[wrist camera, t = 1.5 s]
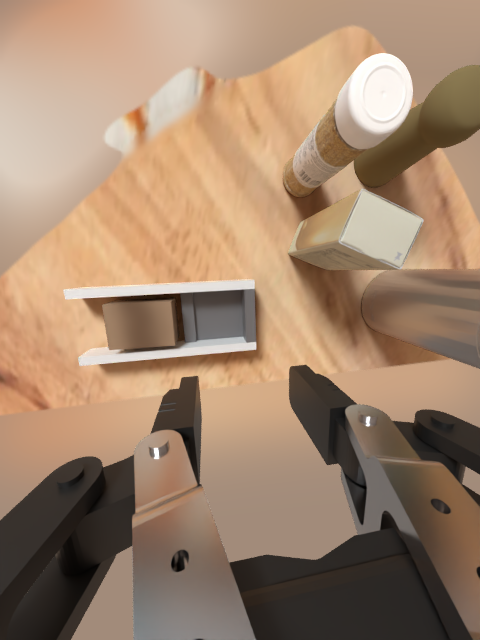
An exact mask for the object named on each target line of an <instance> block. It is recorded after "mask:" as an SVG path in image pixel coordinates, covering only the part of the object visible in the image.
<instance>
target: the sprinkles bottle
mask: <svg viewBox="0 0 480 640" xmlns="http://www.w3.org/2000/svg"><path fill="white" fill-rule="evenodd" d="M412 97H413V88H412V80H411V77H410V74H409V72H408V70H407V68H406V66H405V65H404V64H403V63H402V61H400V59H398V58H397V57H395V56H393V55H391V54H384V53H381V54H376V55H373V56H371V57H369V58H367V59H366V60H364V61H363V62H362V63H361V64H360V65H359V66H358V68H357V69H356V70H355V71H354V73H353V74H352V75H351V76H350V78H349V79H348V80H347V82H346V83H345V84H344V86H343V87H342V89H341V91H340V93H339V95H338V97H337V99H336V101H335V102H334V104H333V105H332V106H331V108H330V109H329V110H328V112H327V113H326V114H325V115H324V116H323V117H322V118H321V120H320V121H319V122H318V124H317V125H316V126H315V128H314V129H313V130H312V132H311V133H310V134H309V136H308V137H307V138H306V139H305V141H304V142H303V143H302V145H301V146H300V147H299V149H298V150H297V152H296V154H295V155H294V156H293V157H292V158H291V159H290V160H289V161H288V163H287V164H286V166H285V168H284V171H283V182H284V185H285V187H286V189H287V190H288V192H289V193H291V194H292V195H294V196H297V197H304V196H307V195H309V194H311V193H312V192H313V191H314V190H315V189H316V188H317V187H319V186H320V185H322V184H323V183H324V182H326V181H327V180H328V179H330V178H331V177H332V176H334V175H335V174H337V173H338V172H339V171H341V170H342V169H343V168H345V167H346V166H347V165H348V164H349V163H351V162H352V161H353V160H354V159H356V158H357V157H358V156H360V155H361V154H362V153H363V152H365V151H366V150H367V149H369V148H372V147H375V146H376V145H378V144H379V143H381V142H382V141H383V140H385V139H386V138H387V137H389V136H390V135H391V134H392V133H394V132H395V131H396V130H397V129H398V128H399V127H400V126H401V125H402V123H403V122H404V120H405V119H406V117H407V115H408V113H409V110H410V108H411V104H412Z"/></svg>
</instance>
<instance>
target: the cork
mask: <svg viewBox="0 0 480 640" xmlns="http://www.w3.org/2000/svg"><path fill="white" fill-rule="evenodd" d="M479 129H480V65H470V66H466V67H463V68H460V69H458V70H456V71H454V72H452V73H450V75H448V76H447V77H446V78H444V79H443V80H442V81H441V82H440V83H439V84H437V85H436V86H435V87H434V88H433V90H432V91H431V92H430V93H429V95H428V96H427V98H426V99H425V101H424V102H423V103H421V104H419V105H418V106H416V107H414V108H413V109H411V110H409V113H408V115H407V117H406V119H405V120H404V122H403V123H402V125H401V126H400V127H399V128H398V129H397V130H396V131H395V132H394V133H392V134H391V135H390V136H389V137H387V138H386V139H385V140H383V141H382V142H381V143H379V144H378V145H376V146H375V147H372V148H369V149H367V150H366V151H365V152H363V153H362V154H361V155H360V156H358V157H357V158H356V159H354V168H355V173H356V175H357V177H358V179H359V180H360V181H361V182H362V183H363V184H364V185H367V186H369V187H379V186H382V185H384V184H386V183H387V182H389V181H390V180H391V179H393V178H394V177H396V176H397V175H399V174H400V173H402V172H403V171H405V170H406V169H408V168H409V167H410V166H412V165H413V164H415V163H416V162H418V161H419V160H421V159H422V158H424V157H425V156H427V155H428V154H429V153H431V152H432V151H434V150H435V149H437V148H446V147H450V146H453V145H456V144H458V143H460V142H462V141H464V140H466V139H468V138H469V137H470V136H471V135H473V134H474V133H475V132H477V130H479Z"/></svg>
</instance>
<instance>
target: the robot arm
mask: <svg viewBox="0 0 480 640" xmlns="http://www.w3.org/2000/svg"><path fill="white" fill-rule="evenodd" d="M362 314H363V318H364V320H365V322H366V323H367V325H368V326H369V327H370V328H372V329H373V330H375V331H377V332H380V333H383V334H385V335H388V336H391V337H393V338H396V339H399V340H401V341H404V342H407V343H410V344H412V345H415V346H418V347H421V348H424V349H426V350H429V351H432V352H435V353H437V354H440V355H443V356H446V357H448V358H451V359H454V360H457V361H459V362H462V363H465V364H468V365H471V366H473V367H476V368H479V369H480V269H400V270H389V271H385V272H383V273H381V274H379V275H378V276H377V277H376V278H374V279H373V280H372V282H371V283H370V284H369V285H368V287H367V289H366V290H365V293H364V296H363V299H362ZM289 399H290V404H291V407H292V409H293V411H294V412H295V414H296V416H297V417H298V419H299V420H300V422H301V424H302V425H303V427H304V429H305V430H306V432H307V433H308V435H309V437H310V438H311V439H312V441H313V443H314V445H315V446H316V448H317V449H318V451H319V453H320V454H321V456H322V458H323V459H324V461H325V462H326V464H327V465H331V464H337V463H339V465H340V466H341V480H342V484H343V487H344V490H345V494H346V497H347V500H348V503H349V507H350V510H351V514H352V517H353V520H354V524H355V527H356V530H357V534H358V535H356V536H353V537H352V538H350V539H349V540H347V541H346V542H344V543H343V544H341V545H340V546H338V547H337V548H335V549H334V550H332V551H331V552H329V553H328V554H326V555H325V556H323V557H322V558H320V559H318V560H309V559H300V558H291V557H282V556H273V555H263V556H258V557H254V558H249V559H245V560H240V561H235V562H230V563H229V561H228V558H227V555H226V552H225V549H224V546H223V544H222V541H221V538H220V535H219V532H218V529H217V526H216V523H215V520H214V518H213V515H212V512H211V509H210V506H209V503H208V500H207V497H206V494H205V492H204V489H203V487H202V485H201V484H200V453H201V450H200V449H201V421H202V419H201V402H200V390H199V380H198V376H193V377H183V378H182V379H181V383H180V388H179V389H172V390H169V391H168V392H167V393H166V394H165V395H164V396H163V399H162V402H161V406H160V408H159V412H158V414H157V417H156V419H155V422H154V426H153V428H152V431H151V434H150V435H148V436H147V437H145V438H144V439H142V441H140V442H139V444H138V445H137V446H136V448H135V451H134V455H133V456H131V457H129V458H127V459H124V460H122V461H119V462H117V463H114V464H112V465H109V466H106V467H104V468H103V466H102V462H101V460H100V459H98V458H96V457H82V458H78V459H75V460H72V461H70V462H68V463H66V464H64V465H62V466H61V467H59V468H58V469H56V470H55V471H53V472H52V473H51V474H50V475H49V476H47V477H46V478H45V479H44V480H43V481H42V482H41V483H40V484H39V485H38V486H37V487H36V488H35V489H34V490H32V491H31V492H30V493H29V494H28V495H27V496H26V497H25V498H24V499H23V500H22V501H21V502H20V503H18V504H17V505H16V506H15V507H14V508H13V509H12V510H11V511H10V512H9V513H8V514H7V515H6V516H5V517H3V519H1V520H0V640H71V638H72V636H73V635H74V633H75V631H76V629H77V627H78V625H79V624H80V622H81V620H82V618H83V616H84V614H85V612H86V611H87V609H88V607H89V605H90V603H91V601H92V599H93V598H94V596H95V594H96V592H97V590H98V588H99V586H100V585H101V583H102V581H103V579H104V577H105V575H106V574H107V572H108V570H109V568H110V566H111V564H112V562H113V561H114V559H115V556H116V554H118V553H119V552H121V551H123V550H125V549H127V548H129V547H130V546H132V547H133V548H132V551H133V627H134V628H133V631H134V640H480V495H478V494H477V493H475V492H474V491H472V490H471V489H469V488H468V487H466V486H464V485H463V484H462V480H463V476H464V471H465V467H468V468H470V469H471V470H473V471H475V472H477V473H478V474H480V428H478V427H476V426H474V425H472V424H470V423H467V422H465V421H463V420H461V419H459V418H456V417H454V416H452V415H449V414H447V413H444V412H440V411H435V410H420V411H417V412H416V414H415V421H414V423H410V422H398V421H392V420H391V419H390V417H389V416H388V415H387V414H385V413H384V412H383V411H381V410H379V409H377V408H374V407H371V406H368V405H360V404H359V405H358V404H356V403H355V402H354V401H353V400H352V399H351V398H350V397H348V396H347V395H346V394H345V393H344V392H343V391H342V390H340V389H339V388H338V387H337V386H336V385H334V383H333V382H332V381H330V380H329V379H328V378H326V377H324V376H322V375H320V374H315V373H314V372H313V371H312V370H311V369H310V368H309V367H308V366H307V365H300V366H291V367H290V370H289ZM53 557H54V558H53ZM50 561H51V562H50ZM28 590H29V591H28ZM25 594H26V595H25Z"/></svg>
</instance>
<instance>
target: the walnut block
mask: <svg viewBox="0 0 480 640" xmlns="http://www.w3.org/2000/svg"><path fill="white" fill-rule="evenodd" d="M102 309H103V315H104V321H105V327H106V334H107V340H108V346H109V350H119V349H133V348H147V347H161V346H175V345H176V342H177V340H178V337H179V330H178V319H177V308H176V298H156V299H133V300H115V301H112V302H109V303H106V304H103V305H102Z"/></svg>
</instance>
